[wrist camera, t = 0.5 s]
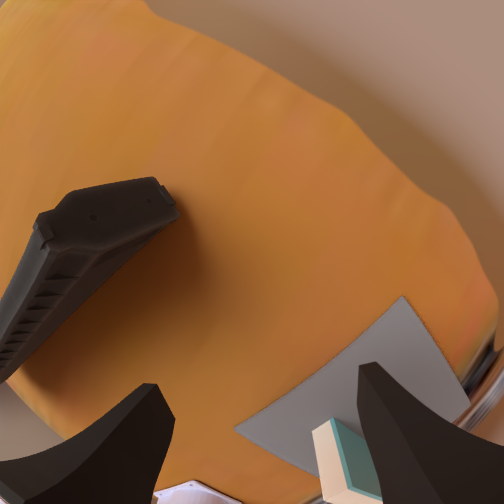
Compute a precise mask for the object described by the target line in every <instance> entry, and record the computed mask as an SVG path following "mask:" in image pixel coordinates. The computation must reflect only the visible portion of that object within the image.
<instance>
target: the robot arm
mask: <svg viewBox="0 0 504 504" xmlns="http://www.w3.org/2000/svg"><path fill="white" fill-rule="evenodd" d="M356 405H357V409H358V414H359V419H360V423H361V428H362V431H363V434H364V437H365V440H366V443H367V446H368V449H369V451H370V454H371V457H372V460H373V463H374V466H375V470H376V473H377V476H378V480H379V484H380V489H381V495H382V501H383V504H504V446H501V445H498V444H495V443H492V442H489V441H487V440H485V439H482V438H480V437H477V436H475V435H473V434H470V433H468V432H466V431H465V430H463V429H461V428H459V427H457V426H455V425H454V424H452V423H450V422H449V421H447V420H445V419H444V418H442V417H441V416H439V415H438V414H436V413H435V412H434V411H432V410H431V409H430V408H428V407H427V406H426V405H424V404H423V403H422V402H420V401H419V400H418V399H417V398H416V397H414V396H413V395H412V394H411V393H410V392H408V391H407V390H406V389H405V388H404V387H403V386H402V385H401V384H399V383H398V382H397V381H396V380H395V379H394V378H393V377H392V376H391V375H390V374H389V373H388V372H387V371H386V370H385V369H384V368H383V367H382V366H381V365H380V364H379V363H377V362H376V361H375V362H371V363H366V364H362V365H359V370H358V389H357V403H356ZM174 424H175V417H174V415H173V414H172V412H171V410H170V408H169V406H168V404H167V402H166V401H165V399H164V397H163V395H162V393H161V391H160V389H159V387H158V385H157V384H149V383H143V384H142V385H141V386H139V387H138V388H137V389H135V390H134V391H133V392H132V393H130V394H129V395H128V396H127V397H126V398H124V399H123V400H122V401H121V402H120V403H118V404H117V405H116V406H115V407H114V408H112V409H111V410H110V411H109V412H107V413H106V414H105V415H104V416H102V417H101V418H100V419H98V420H97V421H96V422H94V423H93V424H92V425H90V426H89V427H87V428H86V429H85V430H83V431H82V432H80V433H78V434H77V435H75V436H74V437H72V438H70V439H68V440H66V441H65V442H63V443H61V444H59V445H57V446H54V447H52V448H50V449H47V450H45V451H43V452H40V453H37V454H34V455H31V456H28V457H23V458H19V459H14V460H8V461H0V496H1V497H2V498H3V499H5V500H6V501H7V502H8V503H9V504H151V500H152V495H153V491H154V487H155V484H156V481H157V478H158V476H159V473H160V470H161V467H162V465H163V462H164V459H165V457H166V454H167V451H168V448H169V445H170V442H171V439H172V434H173V429H174ZM154 495H155V496H156V497H158V498H159V499H158V502H157V504H242V503H241V502H239V501H237V500H235V499H232V498H230V497H228V496H226V495H224V494H221V493H219V492H217V491H215V490H213V489H211V488H209V487H207V486H205V485H203V484H201V483H199V482H198V481H195V480H192V481H189V482H186V483H183V484H180V485H177V486H174V487H171V488H168V489H164V490H161V491H157V492H154ZM2 498H0V504H8V503H7V502H5V501H4V500H3V499H2Z"/></svg>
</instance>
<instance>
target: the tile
mask: <svg viewBox="0 0 504 504" xmlns="http://www.w3.org/2000/svg"><path fill="white" fill-rule="evenodd" d="M312 435H313V441H314V446H315V452H316V457H317V463H318V469H319V475H320V481H321V487H322V493H323V499H324V501H327V502H330V503H333V504H383V501H382V495H381V489H380V484H379V480H378V476H377V473H376V470H375V466H374V463H373V460H372V457H371V454H370V451H369V449H368V446H367V443H366V440H364V439H363V438H361V437H360V436H359V435H357V434H356V433H354V432H353V431H351V430H350V429H349V428H347V427H346V426H344V425H343V424H342V423H340V422H339V421H338V420H336V419H335V418H334V417H333V418H332V419H330V420H329V421H327V422H326V423H324V424H322V425H321V426H319V427H318V428H316V429H315V430H313V431H312Z"/></svg>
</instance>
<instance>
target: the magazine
mask: <svg viewBox="0 0 504 504" xmlns="http://www.w3.org/2000/svg"><path fill="white" fill-rule="evenodd" d="M175 204H176V203H175V201H174V200H173V199H172V197H171V196H170V194H169V193H168V191H167V190H166V188H165V187H164V185H162V186H161V185H160V184H159V182H158V181H157V179H156V178H154V177H145V178H139V179H132V180H126V181H120V182H115V183H109V184H104V185H99V186H94V187H89V188H84V189H79V190H75V191H72V192H70V193H68V194H66V196H65V197H64V198H63V199H62V200H61V201H60V203H59V204H58V205H57V206H56V207H55V209H52V210H49V211H46V212H42V213H39V215H38V217H37V219H36V220H35V223H34V225H33V229H34V231H33V233H32V235H31V237H30V240H29V242H28V245H27V247H26V249H25V252H24V254H23V256H22V258H21V260H20V263H19V265H18V267H17V269H16V271H15V273H14V275H13V277H12V279H11V281H10V283H9V285H8V287H7V289H6V291H5V293H4V295H3V297H2V298H1V300H0V384H1V383H3V382H4V381H6V380H7V379H8V378H9V377H10V376H11V375H12V374H13V373H14V372H15V371H16V370H17V369H18V368H19V367H20V365H21V364H22V363H23V362H24V361H25V360H26V359H27V358H28V357H29V356H30V355H31V354H32V353H33V352H34V351H35V350H36V349H37V348H38V347H39V346H40V345H41V344H42V343H43V342H44V341H45V340H46V339H47V338H48V337H49V336H50V335H51V334H52V333H53V332H54V331H55V330H56V329H57V328H58V327H59V326H60V325H61V324H62V323H63V322H64V321H65V320H66V319H67V318H68V317H69V316H70V315H71V314H72V313H73V312H74V311H75V310H76V309H77V308H78V307H79V306H80V305H81V304H82V303H83V302H84V301H86V300H87V299H88V298H89V297H90V296H91V295H92V294H93V293H94V292H95V291H96V290H97V289H98V288H99V287H100V286H101V285H102V284H103V283H104V282H105V281H106V280H107V279H108V278H109V277H110V276H111V275H113V274H114V273H115V272H116V271H117V270H118V269H119V268H120V267H121V266H122V265H123V264H124V263H125V262H126V261H127V260H129V259H130V258H131V257H132V256H133V255H134V254H135V253H136V252H137V251H138V250H139V249H141V248H142V247H143V246H144V245H145V244H146V243H147V242H148V241H150V240H151V239H152V238H153V237H154V236H155V235H156V234H158V233H159V232H160V231H161V230H162V229H163V228H164V227H166V226H167V225H168V224H169V223H172V222H174V221H176V220H177V219H178V218H179V217H180V213H179V211H178V210H177V209H176V207H175V206H174V205H175Z"/></svg>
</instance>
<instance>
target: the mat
mask: <svg viewBox="0 0 504 504" xmlns="http://www.w3.org/2000/svg"><path fill="white" fill-rule="evenodd" d="M375 361H376V362H377V363H379V364H380V365H381V366H382V367H383V368H384V369H385V370H386V371H387V372H388V373H389V374H390V375H391V376H392V377H393V378H394V379H395V380H396V381H397V382H398V383H399V384H401V385H402V386H403V387H404V388H405V389H406V390H407V391H408V392H410V393H411V394H412V395H413V396H414V397H416V398H417V399H418V400H419V401H420V402H422V403H423V404H424V405H426V406H427V407H428V408H430V409H431V410H432V411H434V412H435V413H436V414H438V415H439V416H441V417H442V418H444V419H445V420H447V421H449V422H450V423H452V422H454V421H455V420H456V419H457V418H458V417H459V416H460V415H461V414H462V413H463V412H464V411H465V410H466V409H467V408H468V407H469V406H470V405H471V403H470V401H469V399H468V397H467V395H466V394H465V392H464V390H463V388H462V386H461V385H460V383H459V381H458V379H457V378H456V376H455V374H454V372H453V371H452V369H451V367H450V366H449V364H448V362H447V361H446V359H445V357H444V356H443V354H442V353H441V351H440V349H439V348H438V346H437V345H436V343H435V342H434V340H433V339H432V337H431V335H430V334H429V332H428V331H427V329H426V328H425V326H424V325H423V324H422V322H421V321H420V319H419V318H418V316H417V315H416V313H415V312H414V311H413V309H412V308H411V306H410V305H409V304H408V302H407V301H406V299H405V298H404V297H403V296H401V297H400V298H399V299H398V300H397V301H396V302H395V303H394V304H393V305H392V306H391V307H390V308H389V309H388V310H387V311H386V312H385V313H384V314H383V315H382V316H381V317H380V318H379V319H378V320H377V321H376V322H375V323H373V324H372V325H371V326H370V327H369V328H368V329H367V330H366V331H365V332H364V333H363V334H361V335H360V336H359V337H358V338H357V339H356V340H355V341H353V342H352V343H351V344H350V345H349V346H348V347H347V348H345V349H344V350H343V351H342V352H341V353H339V354H338V355H337V356H336V357H335V358H333V359H332V360H331V361H330V362H328V363H327V364H326V365H325V366H323V367H322V368H321V369H320V370H318V371H317V372H316V373H314V374H313V375H312V376H310V377H309V378H308V379H306V380H305V381H304V382H302V383H301V384H300V385H298V386H297V387H295V388H294V389H293V390H291V391H290V392H288V393H287V394H286V395H284V396H283V397H281V398H280V399H278V400H277V401H275V402H274V403H272V404H271V405H269V406H268V407H266V408H265V409H263V410H262V411H260V412H259V413H257V414H255V415H254V416H252V417H251V418H249V419H247V420H246V421H244V422H242V423H241V424H239V425H237V426H236V427H234V431H236V432H237V433H239V434H240V435H242V436H244V437H245V438H247V439H248V440H250V441H252V442H253V443H255V444H256V445H258V446H260V447H261V448H263V449H265V450H266V451H268V452H270V453H272V454H273V455H275V456H277V457H279V458H281V459H282V460H284V461H286V462H288V463H290V464H292V465H294V466H296V467H298V468H300V469H302V470H304V471H306V472H308V473H310V474H312V475H314V476H316V477H318V478H320V475H319V469H318V463H317V457H316V452H315V446H314V441H313V435H312V431H313V430H315V429H316V428H318V427H319V426H321V425H322V424H324V423H326V422H327V421H329V420H330V419H332V418H333V417H334V418H335V419H336V420H338V421H339V422H340V423H342V424H343V425H344V426H346V427H347V428H349V429H350V430H351V431H353V432H354V433H356V434H357V435H359V436H360V437H361V438H363V439H364V440H365V437H364V434H363V431H362V428H361V423H360V419H359V414H358V409H357V405H356V403H357V389H358V370H359V365H362V364H366V363H371V362H375Z"/></svg>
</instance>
